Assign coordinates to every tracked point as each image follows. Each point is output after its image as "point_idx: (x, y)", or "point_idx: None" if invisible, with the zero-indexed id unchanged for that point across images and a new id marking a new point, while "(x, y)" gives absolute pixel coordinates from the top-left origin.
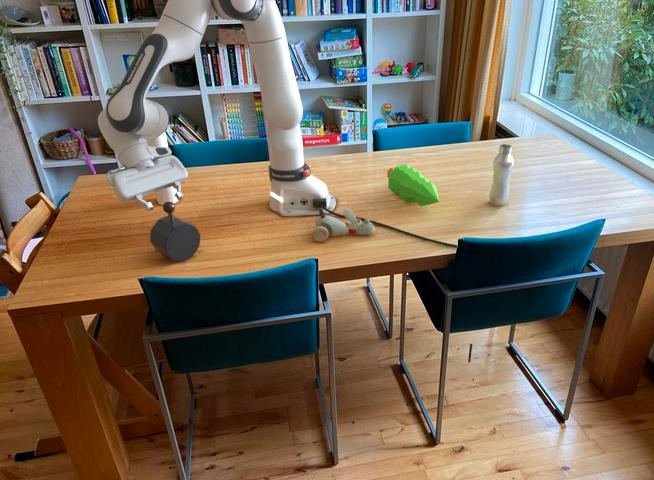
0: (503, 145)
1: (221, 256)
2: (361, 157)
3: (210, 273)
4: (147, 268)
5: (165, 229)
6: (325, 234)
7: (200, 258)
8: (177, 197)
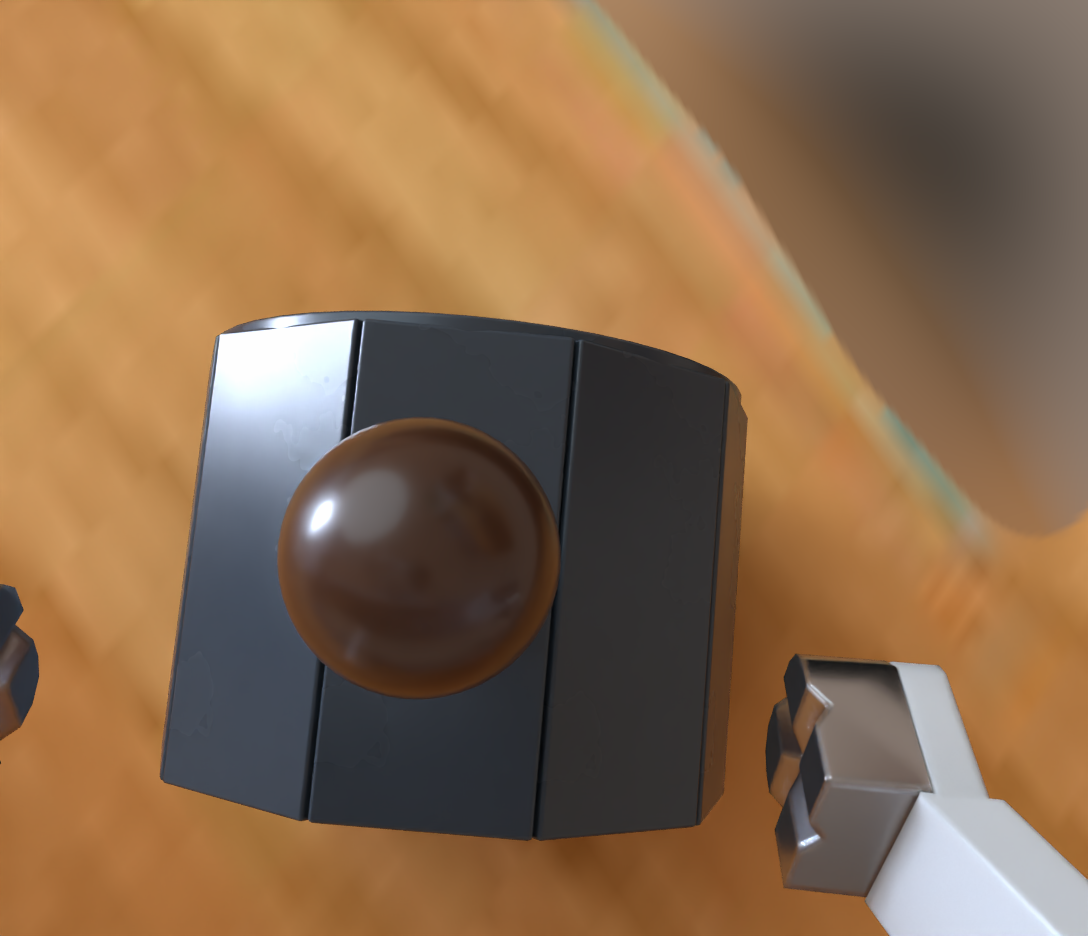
0: None
1: (240, 174)
2: None
3: (538, 21)
4: (854, 624)
5: (639, 508)
6: None
7: None
8: (2, 677)
